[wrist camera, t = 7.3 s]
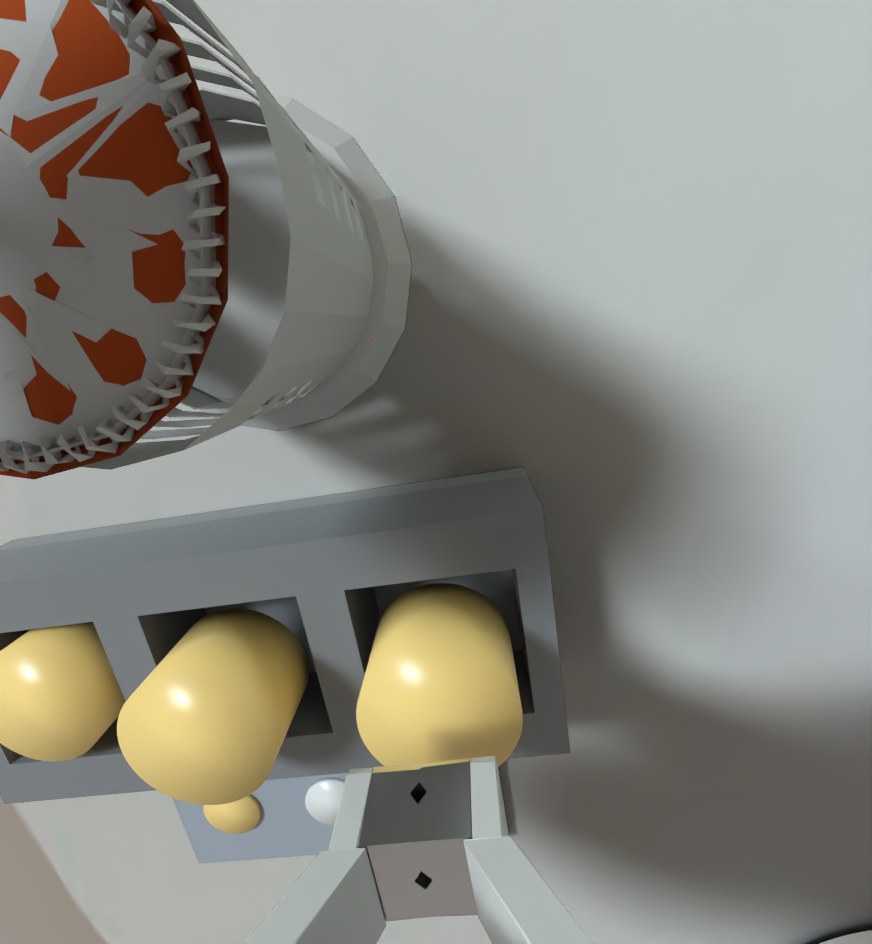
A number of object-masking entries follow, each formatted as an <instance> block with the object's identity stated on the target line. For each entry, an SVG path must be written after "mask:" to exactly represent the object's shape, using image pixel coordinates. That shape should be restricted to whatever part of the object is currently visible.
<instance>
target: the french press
mask: <svg viewBox="0 0 872 944" xmlns="http://www.w3.org/2000/svg"><path fill="white" fill-rule="evenodd" d="M166 1H168V2H169V3H170V4H172V5H173V6H174V7H175V8H177V9H178V10H179V11H180V12H182V13H183V14H184V15H185V16H187V17H188V18H189V19H190V20H192V21H193V22H194V23H195V24H197V25H198V26H199V27H200V28H202V29H203V30H204V31H206V32H207V33H208V34H209V35H211V36H212V37H213V38H214V39H216V40H217V41H218V42H219V43H221V44H222V45H223V46H224V47H226V48H227V49H228V50H229V51H230V52H231V54H232V55H233V56H234V57H232V56H231V55H230V54H229V53H227V52H226V51H225V50H223V49H222V48H221V47H220V46H218V45H217V44H216V43H215V42H213V41H212V40H211V39H210V38H208V37H207V36H206V35H205V34H203V33H202V32H201V31H200V30H198V29H197V28H196V27H195V26H193V25H192V24H191V23H190V22H188V21H187V20H186V19H185V18H183V17H182V16H181V15H180V14H178V13H177V12H176V11H175V10H173V9H172V8H171V7H170V6H168V5H167V4H166V3H165V2H163V1H161V0H0V475H7V476H14V477H21V478H29V479H37V478H41V477H44V476H48V475H52V474H55V473H59V472H63V471H66V470H70V469H74V468H77V467H89V468H100V469H114V468H118V467H122V466H126V465H130V464H133V463H137V462H141V461H145V460H148V459H152V458H156V457H160V456H164V455H167V454H171V453H175V452H179V451H182V450H185V449H187V448H190V447H192V446H194V445H197V444H199V443H201V442H203V441H206V440H208V439H210V438H213V437H215V436H217V435H219V434H222V433H224V432H226V431H229V430H231V429H233V428H235V427H238V426H240V425H242V426H249V427H256V428H263V429H270V430H277V431H280V430H284V429H288V428H292V427H296V426H299V425H303V424H307V423H311V422H315V421H318V420H322V419H326V418H330V417H333V416H334V415H335V414H337V413H338V412H339V411H340V410H342V409H343V408H344V407H345V406H347V405H348V404H349V403H350V402H352V401H353V400H354V399H355V398H357V397H358V396H359V395H361V394H362V393H363V392H364V391H366V390H367V389H368V388H369V387H371V386H372V385H373V384H374V383H376V382H377V380H378V378H379V376H380V374H381V373H382V371H383V369H384V367H385V365H386V363H387V361H388V359H389V358H390V356H391V354H392V352H393V350H394V348H395V346H396V345H397V343H398V341H399V339H400V337H401V335H402V333H403V331H404V330H405V324H406V315H407V306H408V296H409V287H410V278H411V269H412V262H411V258H410V254H409V250H408V246H407V242H406V238H405V235H404V231H403V227H402V223H401V219H400V215H399V212H398V208H397V204H396V200H395V196H394V195H393V193H392V192H391V190H390V189H389V187H388V186H387V185H386V183H385V182H384V180H383V179H382V178H381V176H380V175H379V173H378V172H377V171H376V169H375V168H374V166H373V165H372V164H371V162H370V161H369V159H368V158H367V156H366V155H365V154H364V152H363V151H362V149H361V148H360V147H359V145H358V144H357V142H356V141H355V140H354V138H353V137H352V136H351V135H349V134H347V133H346V132H344V131H343V130H341V129H340V128H338V127H336V126H335V125H333V124H332V123H330V122H329V121H327V120H325V119H324V118H322V117H321V116H319V115H318V114H316V113H314V112H313V111H311V110H310V109H308V108H307V107H305V106H303V105H302V104H300V103H299V102H297V101H296V100H294V99H292V98H285V97H278V96H273V95H272V94H271V93H270V92H269V90H268V89H267V88H266V86H265V85H264V84H263V82H262V81H261V80H260V79H259V77H257V76H256V75H255V74H254V73H253V71H252V70H251V69H250V67H249V66H248V65H247V63H246V62H245V61H244V59H243V58H242V57H241V56H240V54H239V53H238V52H237V51H236V50H235V48H234V47H233V46H232V45H231V44H230V43H229V41H228V40H227V39H226V38H225V37H224V35H223V34H222V33H221V32H220V31H219V29H218V28H217V27H216V26H215V25H214V24H213V22H212V21H211V20H210V19H209V18H208V16H207V15H206V14H205V13H204V12H203V11H202V9H201V8H200V7H199V6H198V5H197V3H196V2H195V1H194V0H166ZM169 22H172V23H176V24H180V25H183V26H185V27H186V28H187V29H189V30H190V31H191V32H193V33H194V34H195V35H197V36H198V37H200V38H201V39H202V40H204V41H205V42H206V43H208V44H209V45H210V46H212V47H213V48H214V49H216V50H217V51H219V52H220V53H221V54H223V55H224V56H225V57H227V58H228V59H229V60H231V61H232V62H233V63H235V64H236V65H237V66H238V67H239V68H240V69H241V70H243V71H244V72H245V73H246V74H247V75H248V77H249V78H250V79H251V81H252V82H253V83H254V84H253V83H252V82H250V81H249V80H248V79H246V78H245V77H244V76H243V75H241V74H240V73H239V72H238V71H236V70H235V69H234V68H232V67H231V66H230V65H229V64H227V63H226V62H225V61H224V60H222V59H221V58H220V57H218V56H217V55H216V54H215V53H213V52H212V51H211V50H210V49H208V48H207V47H206V46H204V45H203V44H202V43H200V42H196V41H192V40H188V39H185V38H181V37H179V35H178V34H177V33H176V31H175V30H174V29H173V27H172V26H171V25H170V24H169ZM187 55H190V56H195V57H199V58H203V59H208V60H212V61H216V62H218V63H219V64H221V65H222V66H223V67H225V68H226V69H228V70H229V71H230V72H232V73H233V74H234V75H236V76H237V77H239V78H240V79H241V80H243V81H244V82H245V83H247V84H248V85H250V86H251V87H252V88H254V89H255V90H256V93H257V94H255V93H253V92H252V91H251V90H249V89H248V88H247V87H245V86H244V85H243V84H242V83H240V82H239V81H238V80H236V79H235V78H234V77H233V76H231V75H228V74H224V73H220V72H217V71H213V70H209V69H205V68H201V67H197V66H193V65H190V63H189V60H188V57H187ZM195 79H196V80H201V81H205V82H210V83H214V84H218V85H223V86H227V87H232V88H236V89H241V90H244V91H245V92H241V91H233V90H226V89H225V90H222V91H220V92H217V91H213V90H209V89H205V88H198V86H197V83H196V80H195ZM179 403H181V404H184V405H186V406H188V407H191V408H193V409H199V410H201V411H203V412H189V411H182V410H179V409H177V408H175V407H176V406H177V405H178V404H179ZM164 416H168V417H214V418H215V419H204V420H185V421H167V422H163V421H161V419H162V418H163V417H164ZM203 425H211V426H210V427H209V428H195V429H178V430H162V431H149V430H150V429H151V428H152V427H153V426H156V427H193V426H203ZM197 434H201V435H200V436H196V437H193V438H190V439H186V440H176V441H161V442H146V443H135V442H136V441H137V440H139V439H158V438H168V437H178V436H188V435H197Z"/></svg>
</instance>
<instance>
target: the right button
mask: <svg viewBox="0 0 872 944" xmlns="http://www.w3.org/2000/svg"><path fill="white" fill-rule="evenodd" d="M356 720H357V726H358V730H359V733H360V736H361V738H362V740H363V742H364V744H365V746H366V747H367V749H368V750H369V751H370V753H371V754H372V755H373V756H374V757H375V758H376V759H377V760H378V761H379V762H380V763H381V764H382V765H384V766H397V765H412V764H422V763H428V762H437V761H447V760H456V759H465V758H470V759H471V758H477V757H486V756H496V759H497V765H498V767H499V766H500V765H501V764H503V763H504V762H505V761H506V760H507V758H508V757H509V756H510V755H511V754H512V752H513V751H514V749H515V747H516V746H517V743H518V741H519V739H520V735H521V732H522V725H523V714H522V706H521V700H520V694H519V688H518V682H517V675H516V669H515V663H514V657H513V651H512V645H511V638H510V633H509V628H508V626H507V623H506V620H505V619H504V617H503V615H502V613H501V612H500V611H499V609H498V608H497V607H496V606H495V605H494V604H493V603H492V602H491V601H490V600H489V599H488V598H486V597H485V596H484V595H482V594H480V593H479V592H477V591H475V590H472V589H470V588H468V587H464V586H461V585H457V584H451V583H432V584H427V585H422V586H419V587H416V588H413V589H411V590H409V591H407V592H405V593H403V594H402V595H400V596H399V597H398V598H396V599H395V600H394V601H393V602H392V603H391V604H390V605H389V606H388V607H387V609H386V610H385V612H384V613H383V615H382V617H381V619H380V621H379V625H378V628H377V632H376V635H375V639H374V643H373V646H372V650H371V654H370V657H369V661H368V665H367V668H366V672H365V676H364V680H363V683H362V687H361V691H360V694H359V698H358V702H357V708H356Z"/></svg>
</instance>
